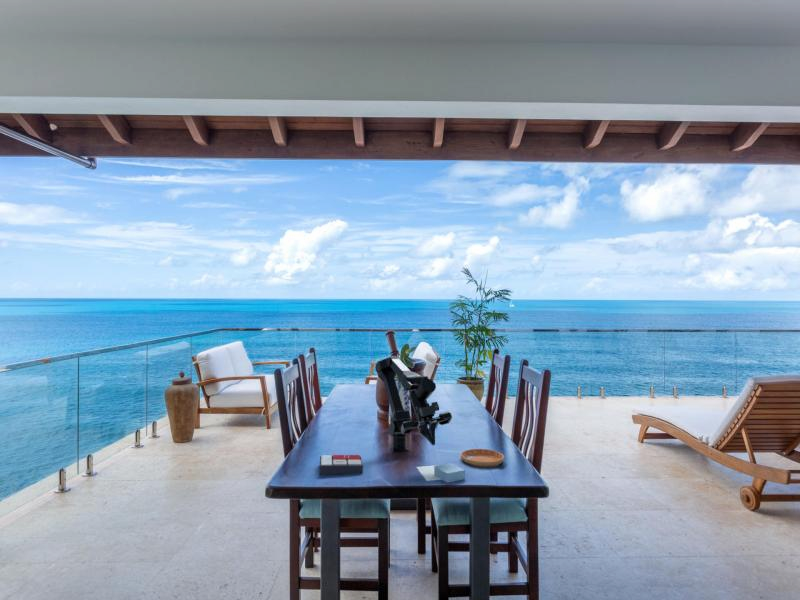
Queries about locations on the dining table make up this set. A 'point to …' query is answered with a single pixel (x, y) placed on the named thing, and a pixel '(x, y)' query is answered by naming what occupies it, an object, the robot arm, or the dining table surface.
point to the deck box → (449, 472)
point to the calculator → (340, 464)
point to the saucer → (482, 457)
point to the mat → (428, 473)
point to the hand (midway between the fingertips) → (433, 444)
